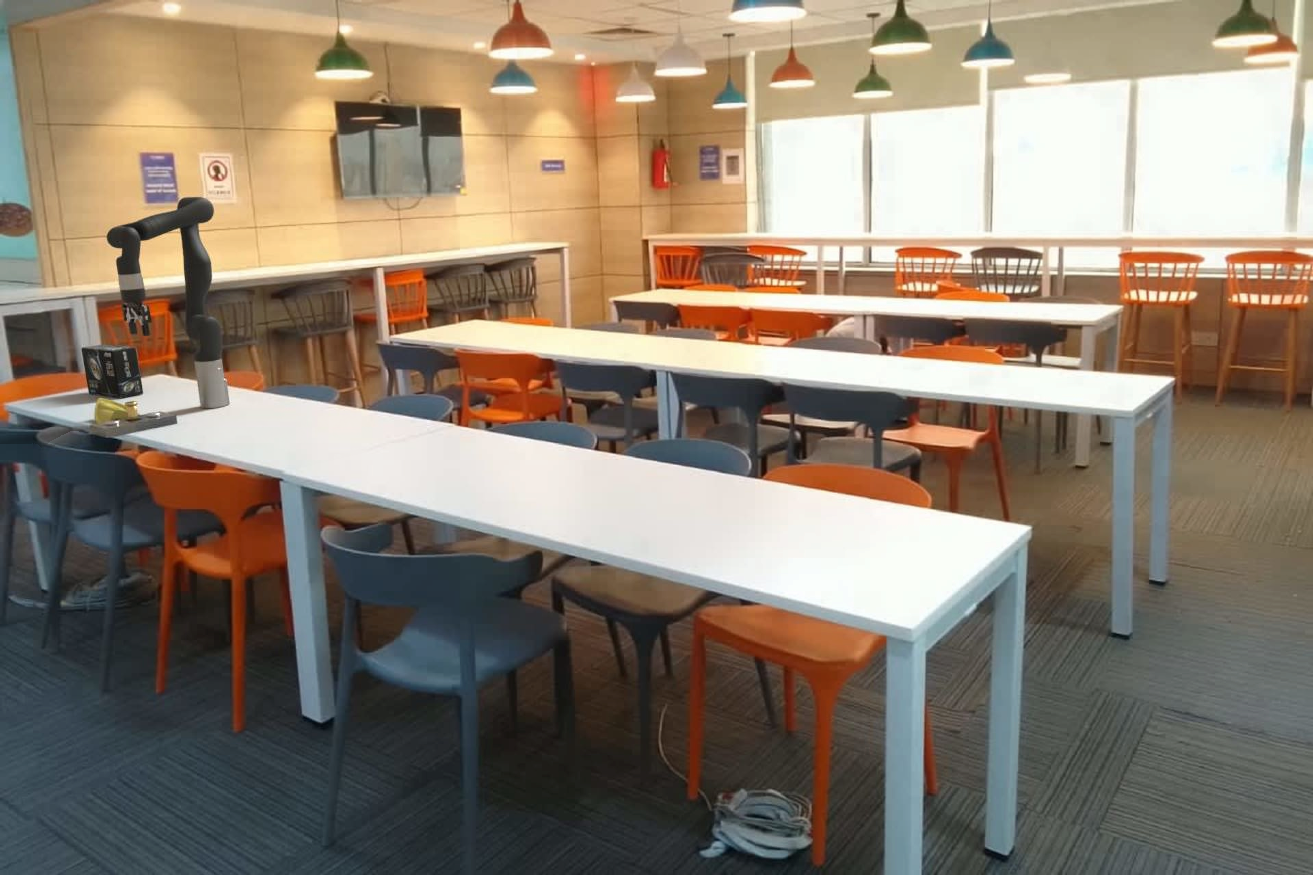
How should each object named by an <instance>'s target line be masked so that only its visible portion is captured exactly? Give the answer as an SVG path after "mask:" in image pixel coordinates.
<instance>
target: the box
mask: <svg viewBox="0 0 1313 875" xmlns="http://www.w3.org/2000/svg"><path fill="white" fill-rule="evenodd" d="M80 349H81V355H82V356H81V357H82V361H83V367H84V372H85V373H84V374H85V379H86V384H87V390H88V394H89V395H93V394H94V396H101V397H108V398H114V399H123V398H129V397H134V396H139V395H143V394H144V388H143V382H142V376H141V369H140V364H139V358H138V350H137V347H135V346H123V345H114V344H113V345H112V344H98V345H97V344H96V345H91V346H85V347H81V348H80Z"/></svg>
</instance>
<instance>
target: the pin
mask: <svg viewBox="0 0 1313 875" xmlns="http://www.w3.org/2000/svg"><path fill="white" fill-rule="evenodd" d="M124 405H125V406H127V412H128V419H129V422H132V421H137V420H139V419H138V414H139V412H138V407H137V406H138V405H139V404H138V401H135V400H133V401H126V402H124Z"/></svg>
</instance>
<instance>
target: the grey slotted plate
mask: <svg viewBox="0 0 1313 875" xmlns="http://www.w3.org/2000/svg"><path fill="white" fill-rule="evenodd" d="M138 419H139V420H137V421H132V422H129V419H128V418H123V419H114V420H111V421H106V422H102V423H97V422H96V423H92V424H89V431H90V434H91V435H94V436H99V437H102V438H106V439H108V438H113V437H118V436H122V435H123V436H124V435H128V434H132V433H136V432H137V431H138V432H142V431H146V430H147V429H148V430H151V429H152V430H153V429H156V428H162V427H167V426H172V425H176V424H178V418H177V414H173V413H169V412H163V411H160V410H159V411H156V412H148V413H144V414H140V415H138ZM148 430H147V431H148Z"/></svg>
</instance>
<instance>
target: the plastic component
mask: <svg viewBox="0 0 1313 875" xmlns="http://www.w3.org/2000/svg"><path fill="white" fill-rule="evenodd" d="M93 415H94V417H93V418H94V420H95V423H96V424H97V423H102V422H106V421H111V420H118V419H123V418H128V412H127V406H125V404H123V403H121V402H117V401H115V400H110V399H108V398H103V397H99V398H97V400H96V403H95V408H94V413H93ZM138 415H141V413H138Z"/></svg>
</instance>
